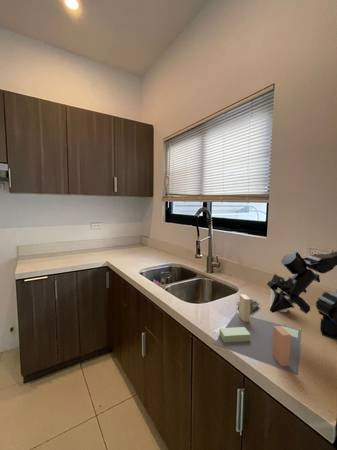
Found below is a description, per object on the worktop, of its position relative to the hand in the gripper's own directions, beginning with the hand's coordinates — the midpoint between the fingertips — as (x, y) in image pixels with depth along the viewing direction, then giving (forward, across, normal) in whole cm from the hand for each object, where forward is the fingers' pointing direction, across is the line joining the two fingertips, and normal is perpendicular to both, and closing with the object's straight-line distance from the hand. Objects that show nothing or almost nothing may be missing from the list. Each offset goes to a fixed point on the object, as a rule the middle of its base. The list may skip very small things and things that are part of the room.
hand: (271, 311), depth 83 cm
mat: (+10, 0, +4) cm, 11 cm away
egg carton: (+6, -23, +9) cm, 26 cm away
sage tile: (+12, 0, -1) cm, 12 cm away
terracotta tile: (+10, +13, +4) cm, 17 cm away
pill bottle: (-5, -22, +20) cm, 30 cm away
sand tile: (+10, -13, +4) cm, 17 cm away
